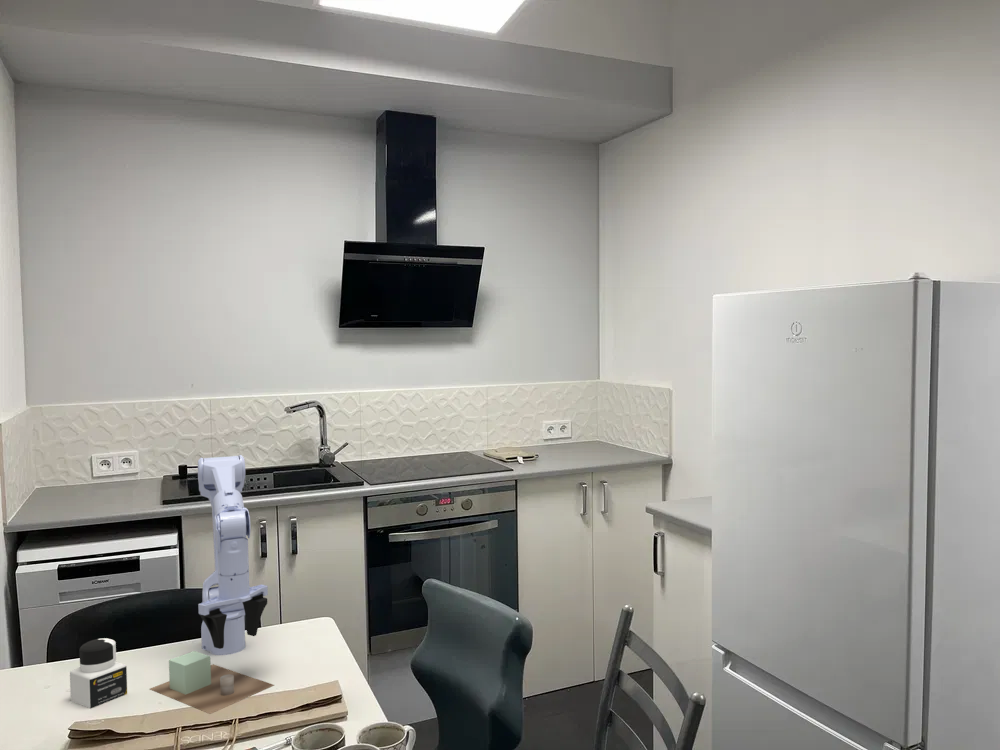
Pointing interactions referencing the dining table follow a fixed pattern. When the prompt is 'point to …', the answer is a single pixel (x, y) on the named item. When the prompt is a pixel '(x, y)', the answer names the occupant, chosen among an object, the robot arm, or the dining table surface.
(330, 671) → the dining table surface
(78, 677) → the medicine bottle
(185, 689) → the mint green cube
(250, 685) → the base board
